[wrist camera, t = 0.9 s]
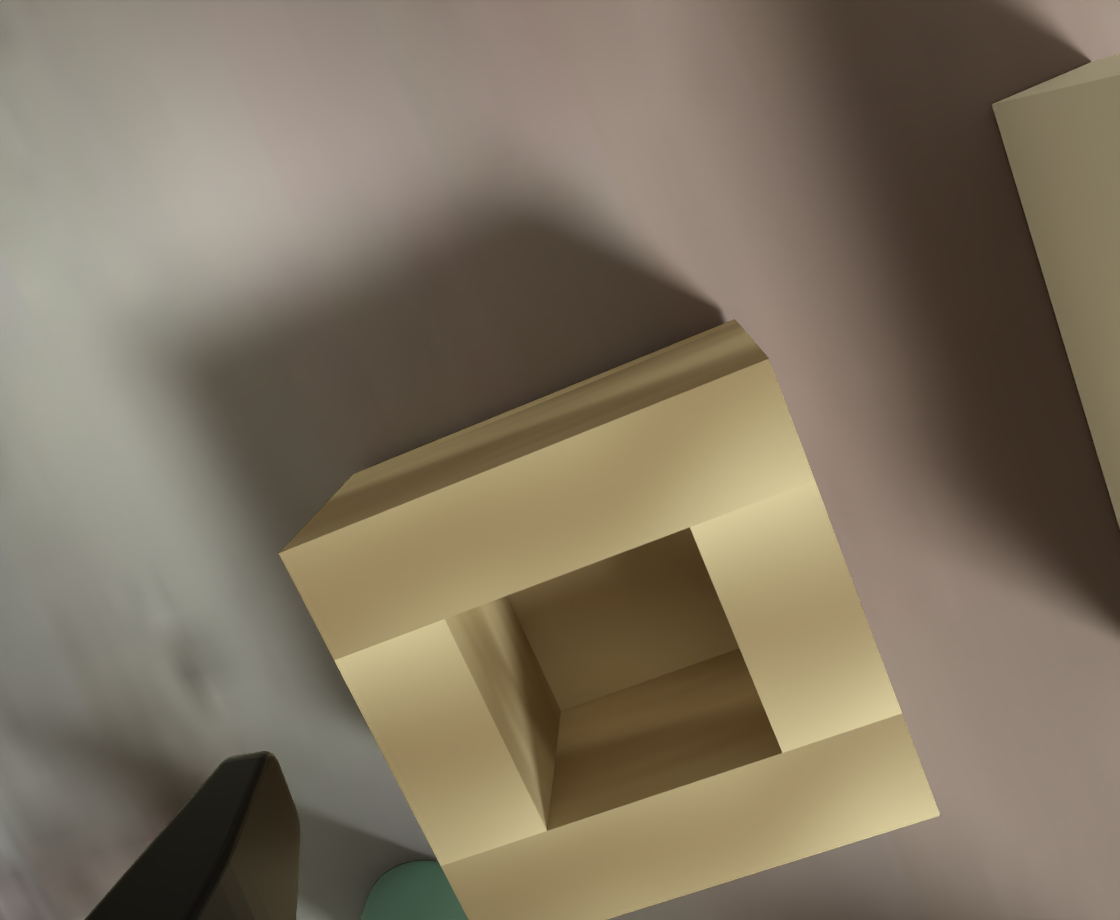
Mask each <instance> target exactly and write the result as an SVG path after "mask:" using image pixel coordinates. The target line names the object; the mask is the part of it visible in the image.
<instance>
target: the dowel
mask: <svg viewBox="0 0 1120 920" xmlns="http://www.w3.org/2000/svg"><path fill="white" fill-rule="evenodd" d="M360 920H468V918H467V916H466V914H465V912H464V910H463V908H462V906H461V904H460V902H459V900H458V898H457V896H456V894H455V893H454V891H453V889H452V887H451V885H450V883H449V881H448V879H447V877H446V875H445V873H444V871H443V869H442V867H441V866H440V864H439V862H438V861H429V860H425V861H413V862H408V863H405V864H402V865H399V866H397V867H394V868H393V869H391V870H389V871H388V872H386V873H385V874H384V875H382V876H381V877H380V878H379V879H378V880H377V882H376V883H375V884H374V886H373V887H372V889H371V891H370V893H369V896H368V898H367V901H366V904H365V907H364V910H363V912H362V915H361V918H360Z"/></svg>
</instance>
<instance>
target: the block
mask: <svg viewBox="0 0 1120 920" xmlns="http://www.w3.org/2000/svg"><path fill="white" fill-rule="evenodd" d="M279 555H280V557H281V559H282V561H283V563H284V565H285V567H286V568H287V570H288V572H289V574H290V576H291V578H292V580H293V582H294V584H295V586H296V588H297V590H298V592H299V594H300V595H301V597H302V599H303V601H304V603H305V605H306V607H307V609H308V611H309V613H310V615H311V617H312V619H313V621H314V622H315V624H316V626H317V628H318V630H319V632H320V634H321V636H322V638H323V640H324V642H325V644H326V646H327V648H328V649H329V651H330V653H331V655H332V657H333V659H334V661H335V663H336V665H337V667H338V669H339V671H340V673H341V675H342V676H343V678H344V680H345V682H346V684H347V686H348V688H349V690H350V692H351V694H352V696H353V698H354V700H355V702H356V703H357V705H358V707H359V709H360V711H361V713H362V715H363V717H364V719H365V721H366V723H367V725H368V727H369V729H370V730H371V732H372V734H373V736H374V738H375V740H376V742H377V744H378V746H379V748H380V750H381V752H382V754H383V756H384V757H385V759H386V761H387V763H388V765H389V767H390V769H391V771H392V773H393V775H394V777H395V779H396V781H397V783H398V785H399V786H400V788H401V790H402V792H403V794H404V796H405V798H406V800H407V802H408V804H409V806H410V808H411V810H412V812H413V813H414V815H415V817H416V819H417V821H418V823H419V825H420V827H421V829H422V831H423V833H424V835H425V837H426V839H427V840H428V842H429V844H430V846H431V848H432V850H433V852H434V854H435V856H436V858H437V860H438V862H439V864H440V866H441V867H442V869H443V871H444V873H445V875H446V877H447V879H448V881H449V883H450V885H451V887H452V889H453V891H454V893H455V894H456V896H457V898H458V900H459V902H460V904H461V906H462V908H463V910H464V912H465V914H466V916H467V918H468V920H607V919H611V918H614V917H617V916H620V915H623V914H627V913H630V912H633V911H636V910H639V909H643V908H646V907H649V906H652V905H655V904H659V903H662V902H665V901H668V900H671V899H675V898H678V897H681V896H684V895H687V894H691V893H694V892H697V891H700V890H703V889H707V888H710V887H713V886H716V885H719V884H723V883H726V882H729V881H732V880H735V879H739V878H742V877H745V876H748V875H751V874H755V873H758V872H761V871H764V870H767V869H771V868H774V867H777V866H780V865H783V864H787V863H790V862H793V861H796V860H799V859H803V858H806V857H809V856H812V855H815V854H819V853H822V852H825V851H828V850H831V849H835V848H838V847H841V846H844V845H847V844H851V843H854V842H857V841H860V840H863V839H867V838H870V837H873V836H876V835H879V834H883V833H886V832H889V831H892V830H895V829H899V828H902V827H905V826H908V825H911V824H915V823H918V822H921V821H924V820H927V819H931V818H934V817H937V816H940V814H939V811H938V808H937V805H936V803H935V800H934V797H933V795H932V792H931V789H930V787H929V784H928V781H927V779H926V776H925V773H924V771H923V768H922V765H921V763H920V760H919V757H918V755H917V752H916V749H915V747H914V744H913V741H912V739H911V736H910V733H909V731H908V728H907V725H906V723H905V720H904V717H903V715H902V712H901V709H900V707H899V704H898V701H897V699H896V696H895V693H894V691H893V688H892V685H891V683H890V680H889V677H888V675H887V672H886V669H885V667H884V664H883V661H882V659H881V656H880V653H879V651H878V648H877V645H876V643H875V640H874V637H873V635H872V632H871V629H870V627H869V624H868V621H867V619H866V616H865V613H864V611H863V608H862V605H861V602H860V600H859V597H858V594H857V592H856V589H855V586H854V584H853V581H852V578H851V576H850V573H849V570H848V568H847V565H846V562H845V560H844V557H843V554H842V552H841V549H840V546H839V544H838V541H837V538H836V536H835V533H834V530H833V528H832V525H831V522H830V520H829V517H828V514H827V512H826V509H825V506H824V504H823V501H822V498H821V496H820V493H819V490H818V488H817V485H816V482H815V480H814V477H813V474H812V472H811V469H810V466H809V464H808V461H807V458H806V456H805V453H804V450H803V448H802V445H801V442H800V440H799V437H798V434H797V432H796V429H795V426H794V424H793V421H792V418H791V416H790V413H789V410H788V408H787V405H786V402H785V399H784V397H783V394H782V391H781V389H780V386H779V383H778V381H777V378H776V375H775V373H774V370H773V367H772V365H771V362H770V359H769V358H768V357H767V355H766V354H765V353H764V352H763V351H762V350H761V349H760V347H759V346H758V345H757V344H756V343H755V342H754V341H753V339H752V338H751V337H750V336H749V335H748V334H747V333H746V331H745V330H744V329H743V328H742V327H741V326H740V325H739V323H738V322H737V321H736V320H735V319H734V320H731V321H729V322H727V323H724V324H722V325H719V326H717V327H714V328H712V329H709V330H707V331H704V332H702V333H699V334H697V335H694V336H692V337H690V338H687V339H685V340H682V341H680V342H677V343H675V344H672V345H670V346H667V347H665V348H662V349H660V350H658V351H655V352H653V353H650V354H648V355H645V356H643V357H640V358H638V359H635V360H633V361H630V362H628V363H626V364H623V365H621V366H618V367H616V368H613V369H611V370H608V371H606V372H603V373H601V374H598V375H596V376H594V377H591V378H589V379H586V380H584V381H581V382H579V383H576V384H574V385H571V386H569V387H566V388H564V389H562V390H559V391H557V392H554V393H552V394H549V395H547V396H544V397H542V398H539V399H537V400H534V401H532V402H530V403H527V404H525V405H522V406H520V407H517V408H515V409H512V410H510V411H507V412H505V413H502V414H500V415H498V416H495V417H493V418H490V419H488V420H485V421H483V422H480V423H478V424H475V425H473V426H470V427H468V428H466V429H463V430H461V431H458V432H456V433H453V434H451V435H448V436H446V437H443V438H441V439H438V440H436V441H434V442H431V443H429V444H426V445H424V446H421V447H419V448H416V449H414V450H411V451H409V452H406V453H404V454H402V455H399V456H397V457H394V458H392V459H389V460H387V461H384V462H382V463H379V464H377V465H374V466H372V467H370V468H367V469H365V470H362V471H360V472H357V473H355V474H353V475H352V476H351V477H350V478H349V479H348V480H347V481H346V482H345V484H344V485H343V486H342V487H341V488H340V489H339V490H338V491H337V492H336V493H335V494H334V495H333V496H332V497H331V498H330V499H329V501H328V502H327V503H326V504H325V505H324V506H323V507H322V508H321V509H320V510H319V511H318V512H317V513H316V514H315V515H314V516H313V518H312V519H311V520H310V521H309V522H308V523H307V524H306V525H305V526H304V527H303V528H302V529H301V530H300V531H299V532H298V533H297V534H296V536H295V537H294V538H293V539H292V540H291V541H290V542H289V543H288V544H287V545H286V546H285V547H284V548H283V549H282V550H281V551H280V553H279Z"/></svg>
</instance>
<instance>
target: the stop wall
mask: <svg viewBox="0 0 1120 920" xmlns="http://www.w3.org/2000/svg"><path fill="white" fill-rule="evenodd" d="M992 107H993V110H994V114H995V117H996V120H997V123H998V127H999V130H1000V133H1001V137H1002V140H1003V143H1004V147H1005V150H1006V153H1007V157H1008V160H1009V163H1010V167H1011V170H1012V173H1013V177H1014V180H1015V183H1016V187H1017V190H1018V193H1019V196H1020V200H1021V203H1022V206H1023V210H1024V213H1025V216H1026V220H1027V223H1028V226H1029V230H1030V233H1031V236H1032V240H1033V243H1034V246H1035V250H1036V253H1037V256H1038V259H1039V263H1040V266H1041V269H1042V273H1043V276H1044V279H1045V283H1046V286H1047V289H1048V293H1049V296H1050V299H1051V303H1052V306H1053V309H1054V313H1055V316H1056V319H1057V322H1058V326H1059V329H1060V332H1061V336H1062V339H1063V342H1064V346H1065V349H1066V352H1067V356H1068V359H1069V362H1070V366H1071V369H1072V372H1073V376H1074V379H1075V382H1076V386H1077V389H1078V392H1079V395H1080V399H1081V402H1082V405H1083V409H1084V412H1085V415H1086V419H1087V422H1088V425H1089V429H1090V432H1091V435H1092V439H1093V442H1094V445H1095V449H1096V452H1097V455H1098V458H1099V462H1100V465H1101V468H1102V472H1103V475H1104V478H1105V482H1106V485H1107V488H1108V492H1109V495H1110V498H1111V502H1112V505H1113V508H1114V512H1115V515H1116V518H1117V522H1118V525H1119V528H1120V54H1118V55H1114V56H1111V57H1107V58H1103V59H1100V60H1096V61H1093V62H1090V63H1088V64H1085V65H1083V66H1081V67H1078V68H1076V69H1074V70H1071V71H1069V72H1067V73H1064V74H1062V75H1060V76H1057V77H1055V78H1052V79H1050V80H1048V81H1045V82H1043V83H1041V84H1038V85H1036V86H1034V87H1031V88H1029V89H1027V90H1024V91H1022V92H1019V93H1017V94H1015V95H1012V96H1010V97H1008V98H1005V99H1003V100H1001V101H998V102H996V103H993V104H992Z"/></svg>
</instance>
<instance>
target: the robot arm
mask: <svg viewBox="0 0 1120 920" xmlns="http://www.w3.org/2000/svg"><path fill="white" fill-rule="evenodd" d="M299 854H300V824H299V818H298V813H297V810H296V807H295V805H294V802H293V799H292V797H291V794H290V791H289V789H288V786H287V783H286V781H285V778H284V775H283V773H282V770H281V767H280V765H279V762H278V760H277V759H276V757H275V756H274V755H273V754H272V753H270V752H267V751H261V752H255V753H249V754H243V755H237V756H232V757H229V758H227V759H226V760H225V761H223V762H222V763H221V764H220V765H219V766H218V768H217V769H216V770H215V771H214V772H213V773H212V774H211V776H210V777H209V778H208V779H207V780H206V781H205V782H204V783H203V785H202V786H201V787H200V788H199V789H198V790H197V791H196V793H195V794H194V795H193V796H192V797H191V798H190V799H189V801H188V802H187V803H186V804H185V805H184V806H183V807H182V809H181V810H180V811H179V812H178V813H177V814H176V815H175V817H174V818H173V819H172V820H171V821H170V822H169V823H168V825H167V826H166V827H165V828H164V829H163V830H162V831H161V833H160V834H159V835H158V836H157V837H156V838H155V839H154V841H153V842H152V843H151V844H150V845H149V846H148V847H147V849H146V850H145V851H144V852H143V853H142V854H141V855H140V857H139V858H138V859H137V860H136V861H135V862H134V863H133V865H132V866H131V867H130V868H129V869H128V870H127V871H126V873H125V874H124V875H123V876H122V877H121V878H120V879H119V881H118V882H117V883H116V884H115V885H114V886H113V887H112V889H111V890H110V891H109V892H108V893H107V894H106V895H105V897H104V898H103V899H102V900H101V901H100V902H99V903H98V905H97V906H96V907H95V908H94V909H93V910H92V911H91V913H90V914H89V915H88V916H87V917H86V918H85V919H84V920H296V909H297V891H298V872H299Z"/></svg>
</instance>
